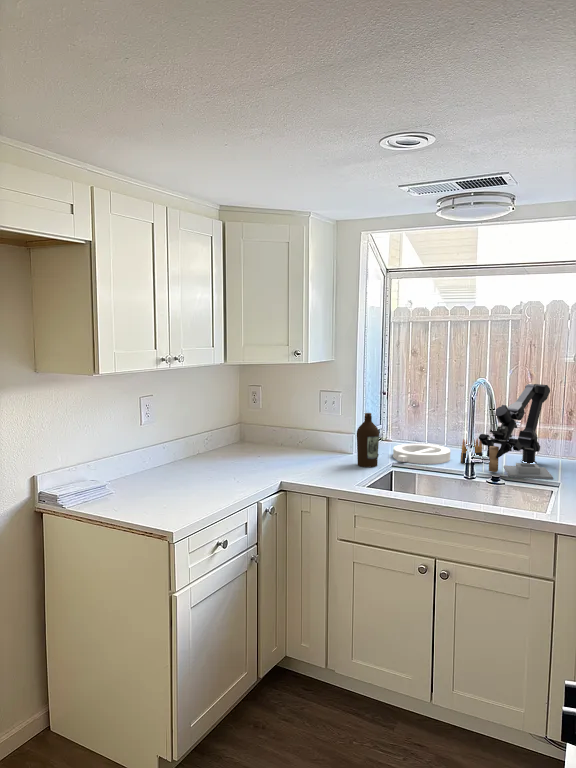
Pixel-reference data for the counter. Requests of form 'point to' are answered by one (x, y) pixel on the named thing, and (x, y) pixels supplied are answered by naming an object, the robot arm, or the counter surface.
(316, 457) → the counter surface
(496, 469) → the walnut pin
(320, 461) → the counter surface
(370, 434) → the olive oil
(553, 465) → the counter surface
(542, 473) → the holder
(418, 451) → the ring with crossbar
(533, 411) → the robot arm
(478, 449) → the ammunition clip
